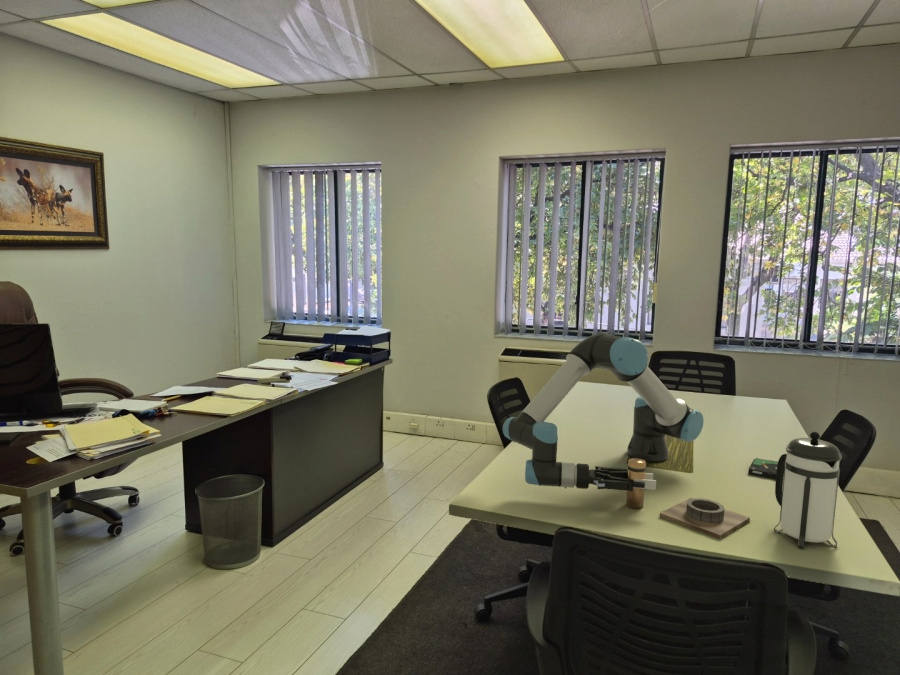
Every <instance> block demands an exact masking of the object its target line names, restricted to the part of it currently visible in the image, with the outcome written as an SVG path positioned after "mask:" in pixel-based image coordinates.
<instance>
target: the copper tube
mask: <svg viewBox="0 0 900 675" xmlns="http://www.w3.org/2000/svg"><path fill="white" fill-rule="evenodd" d="M646 466H647V461H644V460H642V459H637V458H633V457H631V458H629V459H628V463H627V470H628V479H631V480H633V478H634V479H645V473H646V471H647V467H646ZM644 498H645V489H639V488H633V491H626V500H625V505H626V506H627V507H628V508H631V509H636V510H639V509H642V508H644V501H645V500H644Z"/></svg>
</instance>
